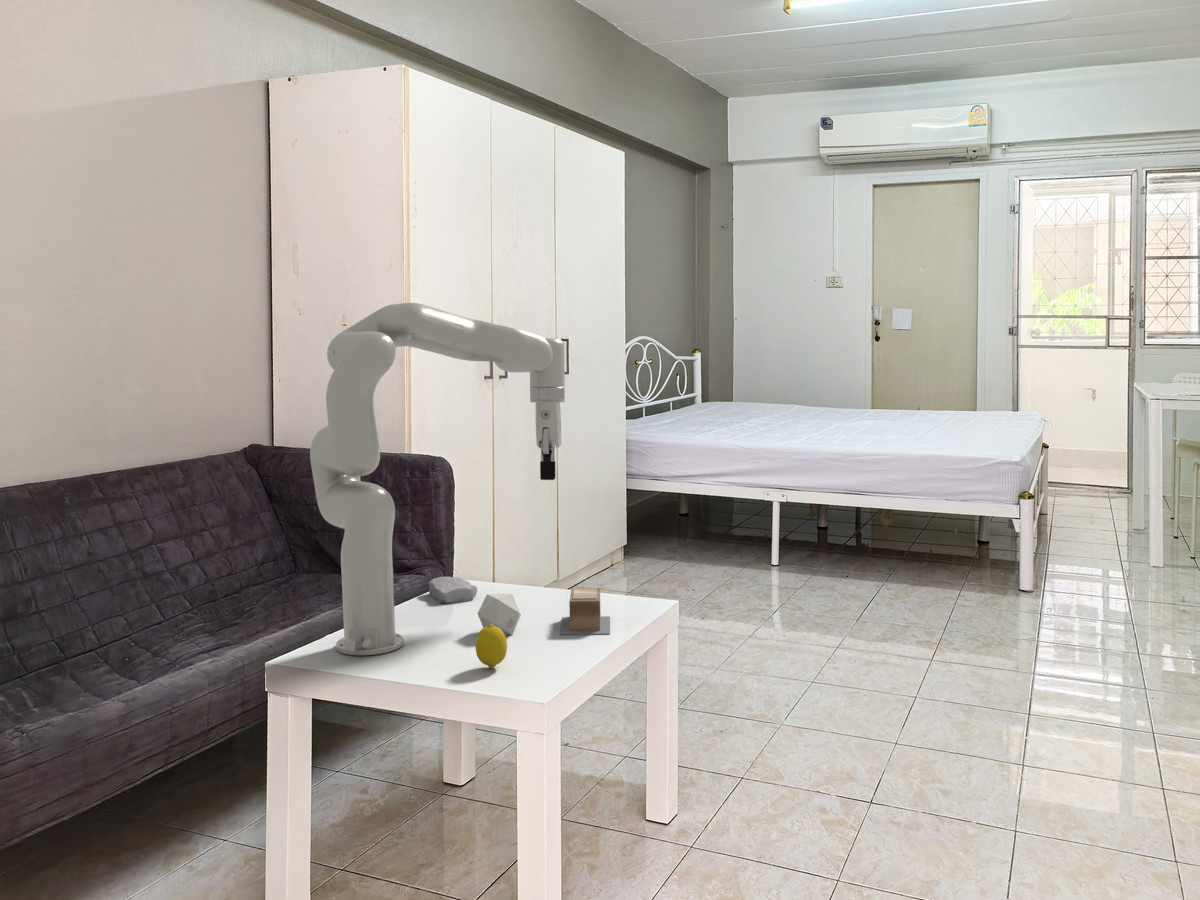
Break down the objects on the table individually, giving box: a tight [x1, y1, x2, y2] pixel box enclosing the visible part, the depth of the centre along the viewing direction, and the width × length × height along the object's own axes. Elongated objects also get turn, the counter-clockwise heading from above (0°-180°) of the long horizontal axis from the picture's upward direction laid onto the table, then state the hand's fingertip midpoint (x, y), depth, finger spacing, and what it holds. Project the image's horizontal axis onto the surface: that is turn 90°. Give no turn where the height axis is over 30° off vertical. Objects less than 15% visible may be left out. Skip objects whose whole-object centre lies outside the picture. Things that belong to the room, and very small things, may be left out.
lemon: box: [475, 624, 508, 669], centre depth 172 cm, size 6×6×8 cm
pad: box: [559, 615, 611, 636], centre depth 198 cm, size 13×10×1 cm
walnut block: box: [568, 587, 601, 631], centre depth 199 cm, size 6×6×11 cm
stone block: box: [428, 576, 479, 605], centre depth 224 cm, size 12×5×10 cm
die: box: [477, 593, 522, 636], centre depth 194 cm, size 8×9×10 cm
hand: (547, 479), depth 213 cm, fingers closed
